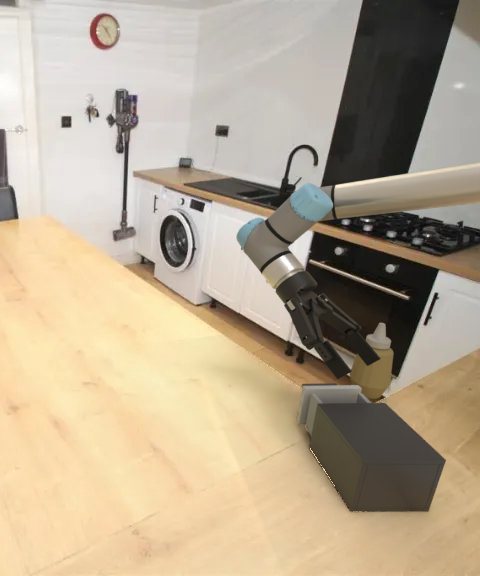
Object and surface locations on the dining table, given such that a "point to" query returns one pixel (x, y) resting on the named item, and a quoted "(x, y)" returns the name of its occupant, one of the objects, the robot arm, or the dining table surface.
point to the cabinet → (375, 457)
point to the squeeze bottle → (374, 366)
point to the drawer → (325, 399)
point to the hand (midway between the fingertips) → (360, 368)
